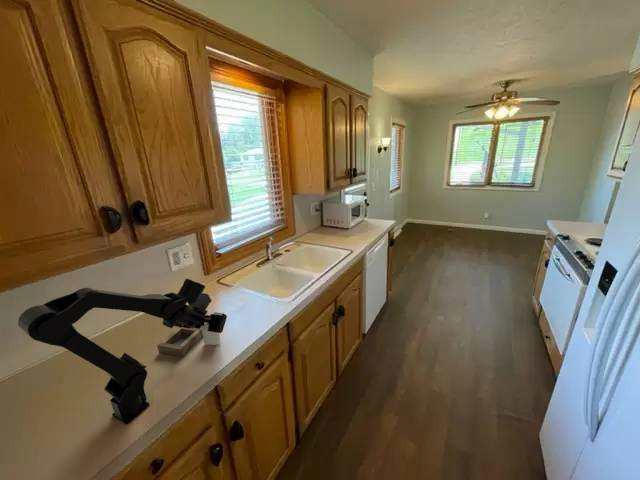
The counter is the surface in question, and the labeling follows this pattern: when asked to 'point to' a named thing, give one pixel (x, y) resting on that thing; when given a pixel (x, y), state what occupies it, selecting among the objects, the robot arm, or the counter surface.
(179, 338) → the socket block
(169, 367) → the counter surface
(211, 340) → the eye dropper bottle
